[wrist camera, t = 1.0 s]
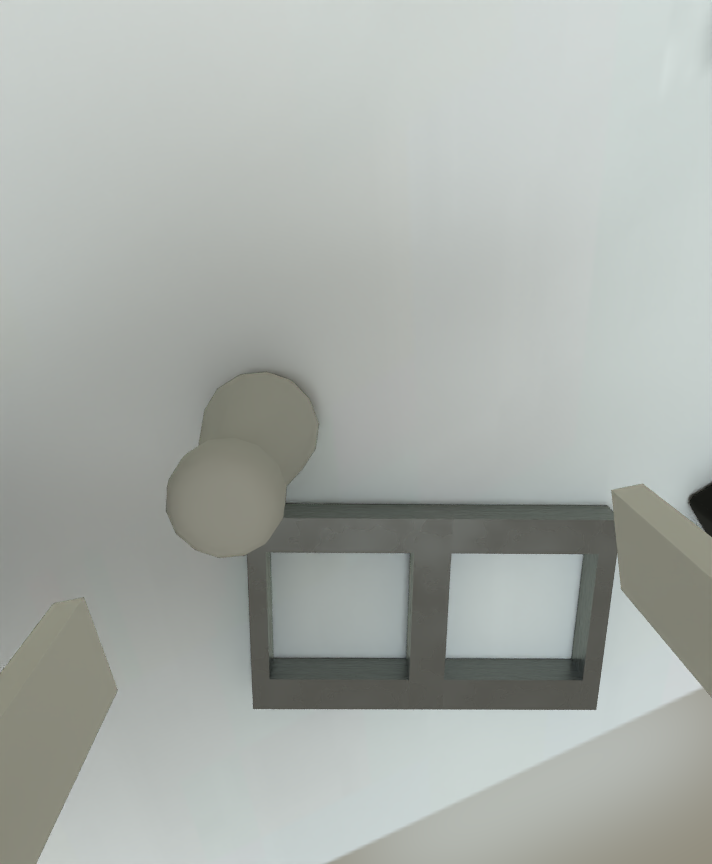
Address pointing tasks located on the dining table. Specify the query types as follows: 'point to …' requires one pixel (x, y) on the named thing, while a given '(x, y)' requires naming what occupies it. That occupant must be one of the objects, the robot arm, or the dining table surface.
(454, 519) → the double window frame
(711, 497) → the battery
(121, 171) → the dining table surface
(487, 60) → the dining table surface
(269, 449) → the salt shaker
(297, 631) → the dining table surface
